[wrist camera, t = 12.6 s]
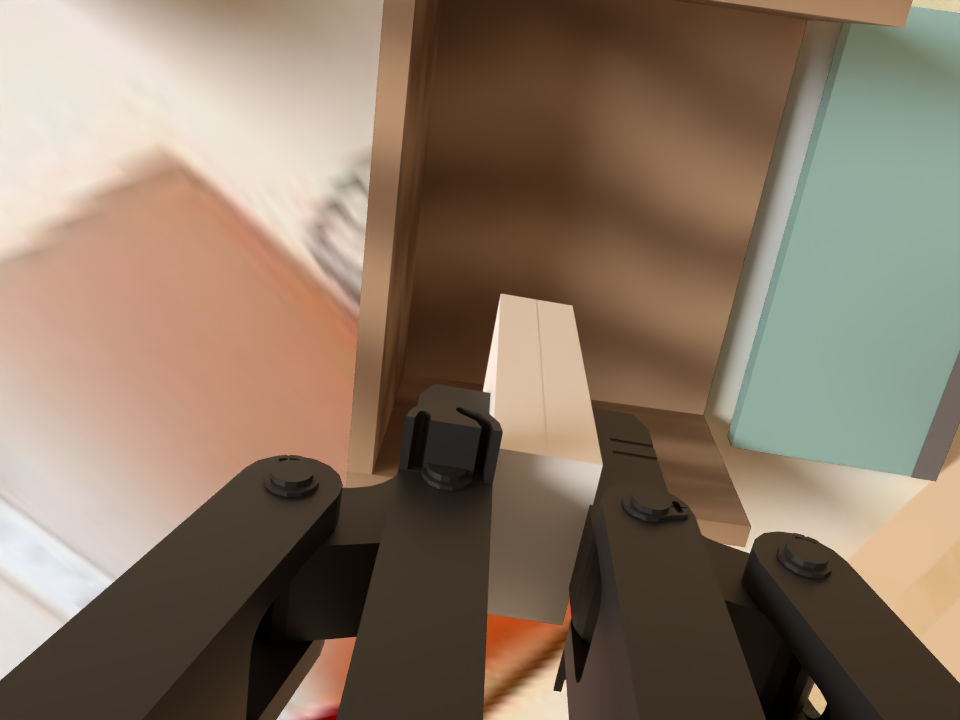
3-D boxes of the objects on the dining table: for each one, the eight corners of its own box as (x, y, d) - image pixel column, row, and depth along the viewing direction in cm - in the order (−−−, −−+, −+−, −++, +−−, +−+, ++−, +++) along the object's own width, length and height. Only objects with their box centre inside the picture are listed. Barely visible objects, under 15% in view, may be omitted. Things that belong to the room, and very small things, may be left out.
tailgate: (727, 435, 44) (925, 467, 44) (731, 448, 43) (936, 481, 42) (848, -1, 36) (1095, 33, 35) (858, -1, 34) (1114, 34, 34)
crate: (695, 423, 45) (744, 547, 35) (385, 380, 45) (345, 492, 35) (806, -6, 37) (914, -7, 26) (427, -60, 36) (390, -81, 26)
